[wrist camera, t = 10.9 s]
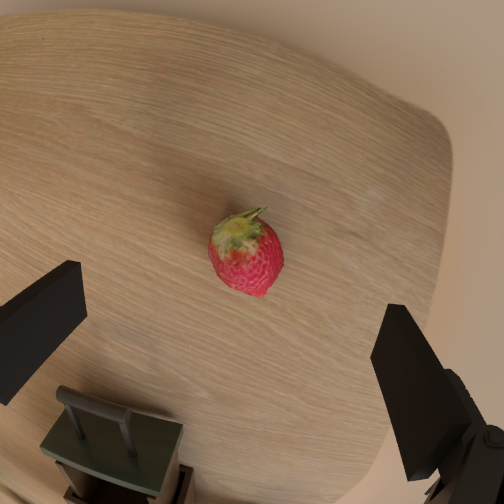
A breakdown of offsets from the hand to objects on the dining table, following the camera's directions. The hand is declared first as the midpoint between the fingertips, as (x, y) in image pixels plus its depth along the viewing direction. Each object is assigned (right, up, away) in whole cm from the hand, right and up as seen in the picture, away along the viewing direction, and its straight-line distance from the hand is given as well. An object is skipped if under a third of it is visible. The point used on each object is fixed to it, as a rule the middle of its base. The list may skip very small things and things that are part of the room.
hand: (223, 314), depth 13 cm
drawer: (-11, -16, +15) cm, 24 cm away
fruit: (+1, +3, +8) cm, 9 cm away
